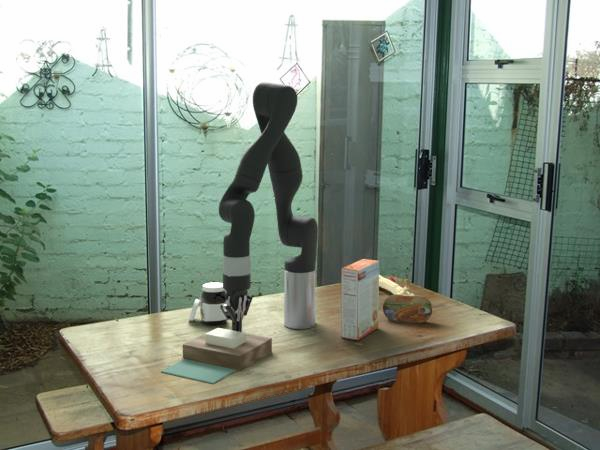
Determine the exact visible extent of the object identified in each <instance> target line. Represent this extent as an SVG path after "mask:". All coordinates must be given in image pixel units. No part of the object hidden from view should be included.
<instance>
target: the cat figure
mask: <svg viewBox="0 0 600 450" xmlns="http://www.w3.org/2000/svg"><path fill="white" fill-rule="evenodd" d="M388 277H389V278H390V279H388V278H385V277H383V276H382V275H380V274H379V288H382V289H385V290H386V291H388V292H390V293H392V295H394V294H401V295H415V294H414V293H411V292H409V291H408V290H409V289H411V285H410V281H409V279H407V278H405V279H404V280H403V284H404V287H401V286H400V285H399V284H397V282H396V279H395V278H394V277H392V276H388Z"/></svg>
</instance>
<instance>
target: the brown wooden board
mask: <svg viewBox="0 0 600 450" xmlns="http://www.w3.org/2000/svg"><path fill="white" fill-rule="evenodd" d="M208 332H209V331H207V332H205V333H203V334H201V335H200V336H198V337H195V338H193V339H191V340H188V341H187V342H185V343H183V344H182V360H184V359H187V360H192V361H197V362H201V363H206V364H211V365H216V366H220V367H225V368H230V369H234V370H236V371H238V372H239V371H240V372H241V371H243V370H244V369H246V368H248V367H249V366H251V365H252V364H255V363H256V362H258V361H260V360H261V359H263V358H265V357H266V356H269V355H270V354H271V353H273V338H272V337H267V336H261V335H256V334H251V333H246V342H245V343H243V344H241V345H239V346H237V347H235V348H229V347H224V346H219V345H214V344H209V343H205V334H206V333H208Z"/></svg>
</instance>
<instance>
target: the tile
mask: <svg viewBox="0 0 600 450" xmlns="http://www.w3.org/2000/svg"><path fill="white" fill-rule="evenodd" d="M207 332H208V333H207ZM207 332H205V333H206V334H205V333H204V334H205V343H209V344H214V345H219V346H224V347H229V348H235V347H237V346H239V345H241V344H243V343H245V342H246V334H247V332H243V331H242V332H238V331H233V330H232V329H228V328H220V327H216V328H214V329H212V330H209V331H207Z"/></svg>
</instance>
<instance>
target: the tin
mask: <svg viewBox="0 0 600 450" xmlns="http://www.w3.org/2000/svg"><path fill="white" fill-rule="evenodd" d="M382 312H383V314H384V316H385V317H386V318H387V319H388V320H389V321H391V322H394V323H395V322H397V323H410V324H411V323H412V324H423V323H425V322H427V321H429V319H430V318H431V317H432V313H433V306H432V303H431V301H430V300H429V299H428V298H427V297H426V296H424V295H420V294H419V295H417V294H414V295H401V294H391V295H389V296H388V297H387V298H386V299H385V300H384V301H383V304H382Z"/></svg>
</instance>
